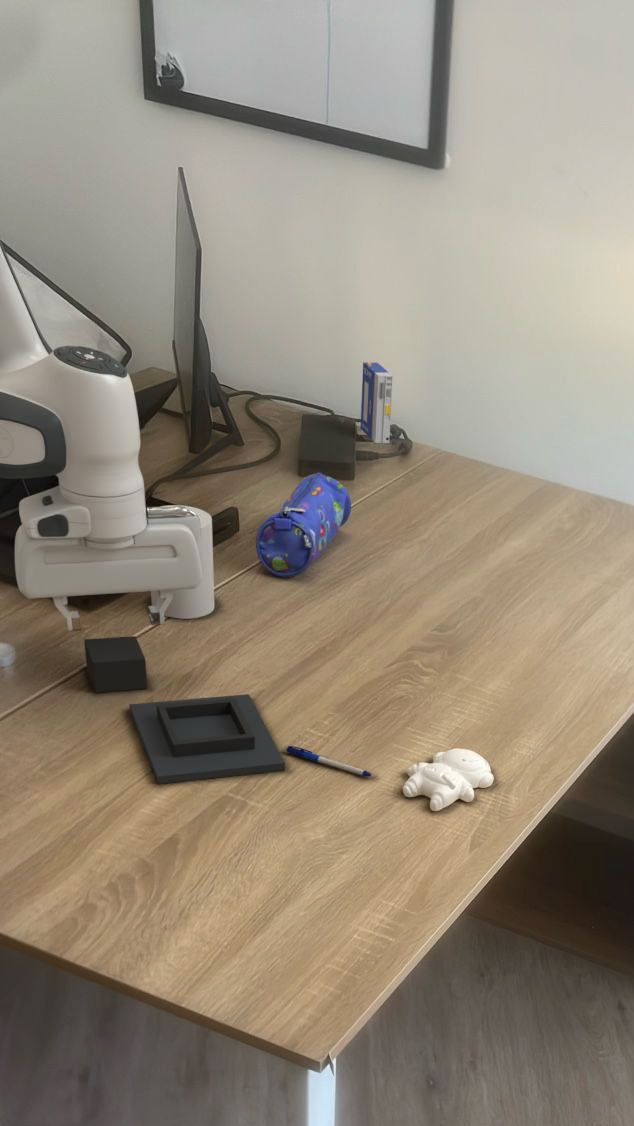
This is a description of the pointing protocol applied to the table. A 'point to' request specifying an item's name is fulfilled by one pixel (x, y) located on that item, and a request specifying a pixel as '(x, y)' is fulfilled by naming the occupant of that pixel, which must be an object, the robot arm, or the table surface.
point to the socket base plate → (205, 738)
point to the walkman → (376, 402)
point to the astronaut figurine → (448, 777)
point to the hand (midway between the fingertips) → (116, 626)
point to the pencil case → (303, 525)
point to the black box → (115, 664)
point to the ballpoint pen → (325, 760)
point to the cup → (202, 597)
